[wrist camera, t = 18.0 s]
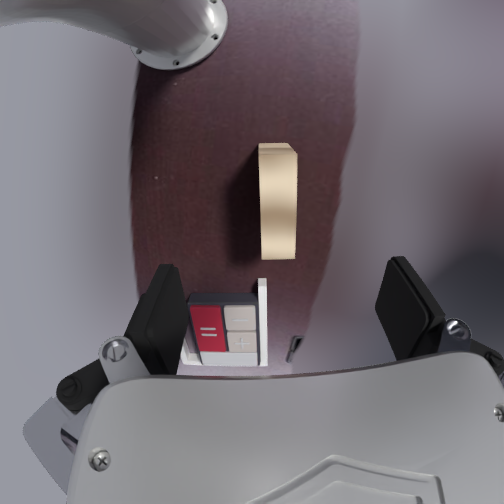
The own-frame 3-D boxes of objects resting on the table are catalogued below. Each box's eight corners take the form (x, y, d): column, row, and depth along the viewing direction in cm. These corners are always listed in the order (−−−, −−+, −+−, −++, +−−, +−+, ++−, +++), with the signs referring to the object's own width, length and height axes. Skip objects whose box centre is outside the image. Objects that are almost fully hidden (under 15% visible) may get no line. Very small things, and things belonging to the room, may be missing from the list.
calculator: (258, 305, 40) (260, 369, 46) (258, 289, 43) (260, 352, 50) (185, 305, 40) (200, 368, 47) (191, 289, 44) (204, 351, 51)
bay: (162, 279, 42) (158, 286, 40) (266, 278, 41) (266, 286, 39) (185, 356, 51) (183, 364, 49) (267, 358, 50) (267, 366, 49)
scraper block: (258, 143, 32) (258, 154, 24) (287, 143, 31) (297, 154, 24) (261, 224, 37) (261, 259, 29) (287, 224, 37) (294, 258, 29)
